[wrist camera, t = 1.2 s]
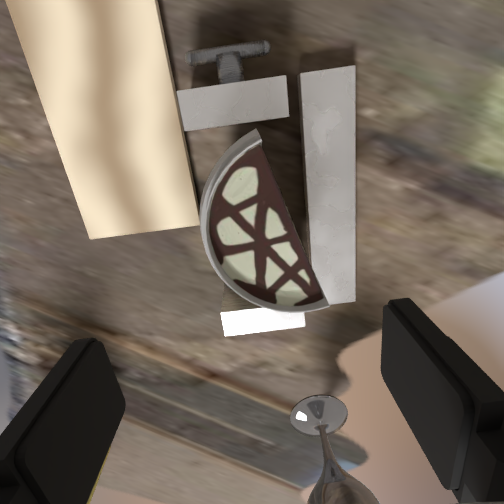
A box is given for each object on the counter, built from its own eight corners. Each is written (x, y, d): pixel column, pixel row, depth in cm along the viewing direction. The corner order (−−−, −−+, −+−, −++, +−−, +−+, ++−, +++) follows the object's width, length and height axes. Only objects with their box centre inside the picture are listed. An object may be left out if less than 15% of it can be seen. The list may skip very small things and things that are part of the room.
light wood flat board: (152, -27, 21) (147, -35, 20) (201, 221, 28) (200, 225, 27) (12, -5, 21) (1, -11, 21) (95, 235, 28) (90, 239, 27)
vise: (348, 35, 23) (375, 12, 18) (350, 293, 31) (368, 323, 26) (182, 60, 23) (167, 43, 18) (229, 308, 32) (226, 339, 27)
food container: (186, 159, 26) (153, 178, 17) (253, 127, 25) (257, 128, 16) (247, 277, 30) (247, 344, 21) (305, 254, 29) (332, 312, 20)
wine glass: (338, 383, 36) (396, 547, 22) (359, 426, 38) (423, 595, 25) (276, 406, 37) (294, 575, 23) (301, 446, 40) (331, 618, 26)
